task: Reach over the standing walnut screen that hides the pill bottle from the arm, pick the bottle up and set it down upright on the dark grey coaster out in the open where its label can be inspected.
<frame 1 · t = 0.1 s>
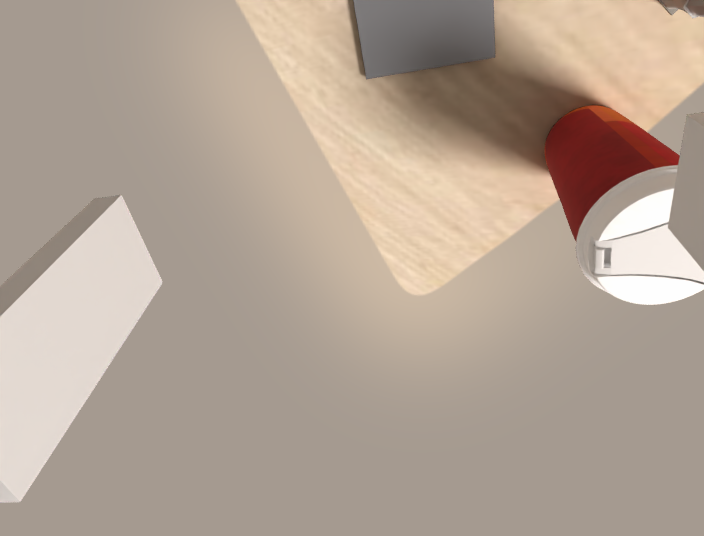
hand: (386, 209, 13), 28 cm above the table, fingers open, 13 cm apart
coffee cup: (585, 143, 40), on the table
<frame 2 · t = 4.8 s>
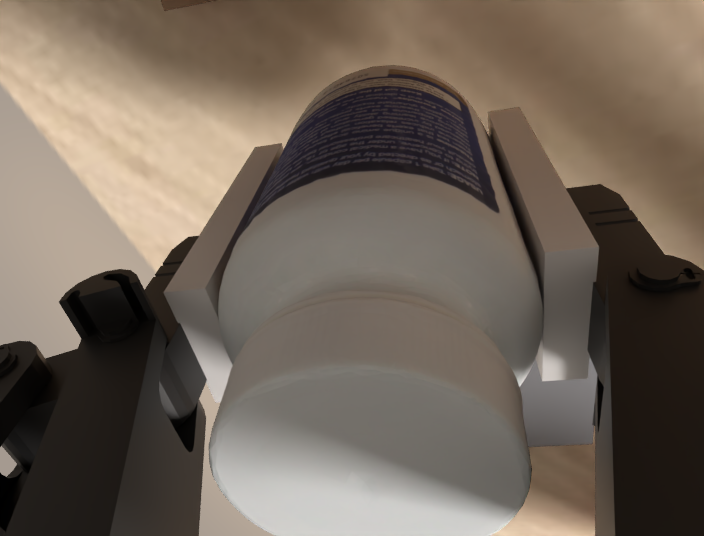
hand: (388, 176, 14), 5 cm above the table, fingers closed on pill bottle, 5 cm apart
pill bottle: (388, 160, 15), point 5 cm above the table, touching gripper
coaster: (493, 374, 25), on the table
when the fingers open (2 cm above the table, at t = 9.0 s): pill bottle stays where it is, resting on coaster.
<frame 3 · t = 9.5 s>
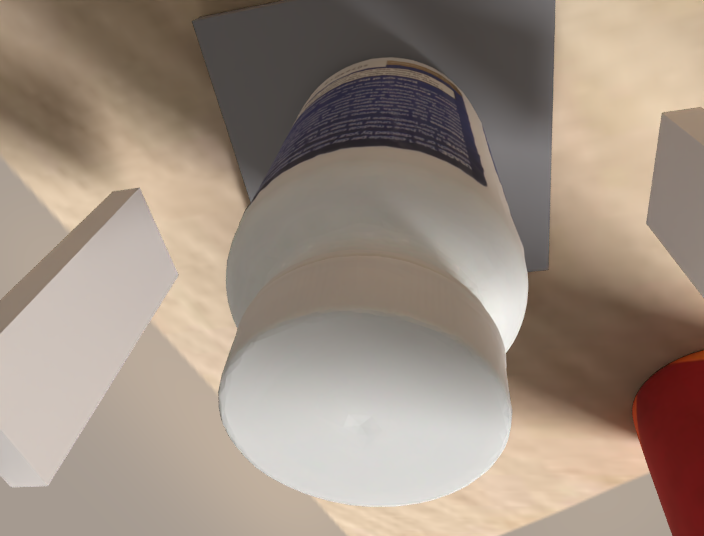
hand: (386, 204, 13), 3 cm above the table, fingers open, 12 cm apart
pill bottle: (387, 149, 15), resting on coaster
coaster: (390, 151, 16), on the table
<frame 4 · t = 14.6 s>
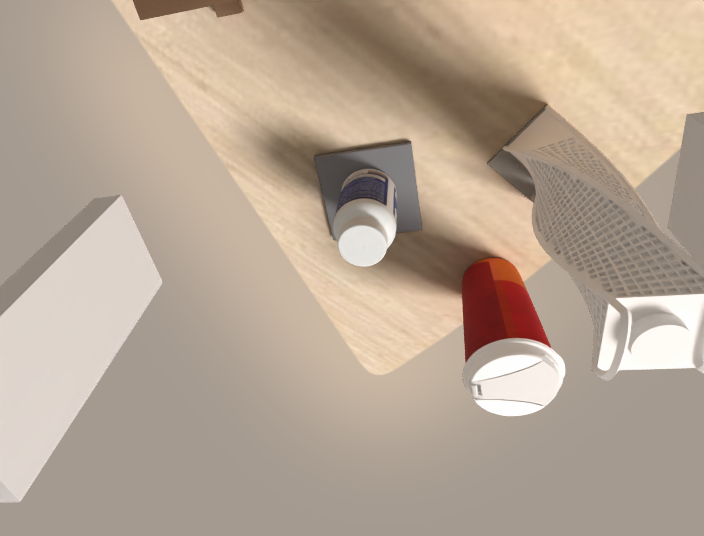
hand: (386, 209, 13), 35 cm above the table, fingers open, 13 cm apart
pill bottle: (369, 192, 50), resting on coaster
skyscraper: (541, 147, 47), on the table
coffee cup: (491, 279, 56), on the table
coaster: (370, 192, 51), on the table
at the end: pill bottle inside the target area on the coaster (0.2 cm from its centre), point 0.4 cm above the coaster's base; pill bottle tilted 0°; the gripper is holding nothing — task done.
